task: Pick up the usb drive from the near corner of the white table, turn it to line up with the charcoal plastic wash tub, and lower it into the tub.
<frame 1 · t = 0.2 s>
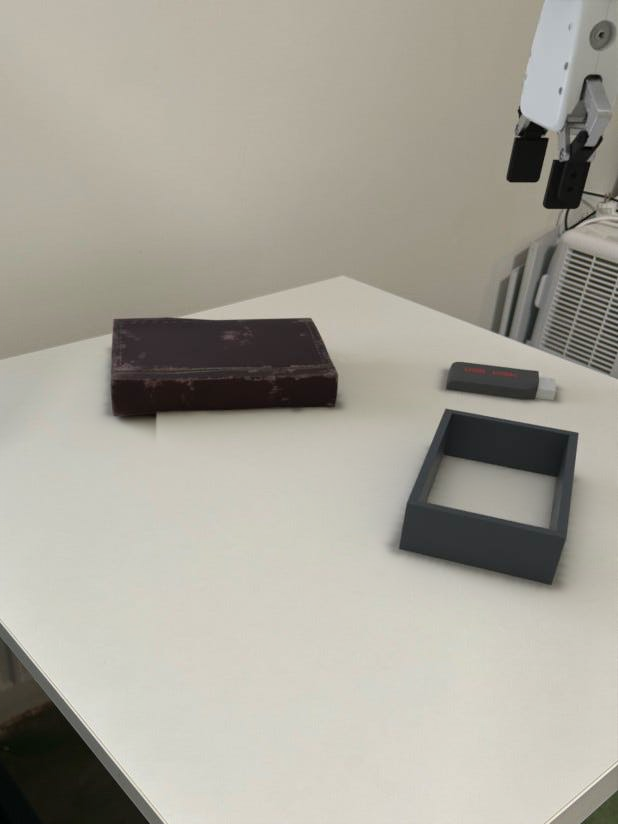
hand: (540, 194, 78), 24 cm above the table, tool pointing down, fingers open, 9 cm apart
diary: (218, 383, 100), on the table
usb drive: (497, 394, 98), on the table
tub: (485, 516, 77), on the table
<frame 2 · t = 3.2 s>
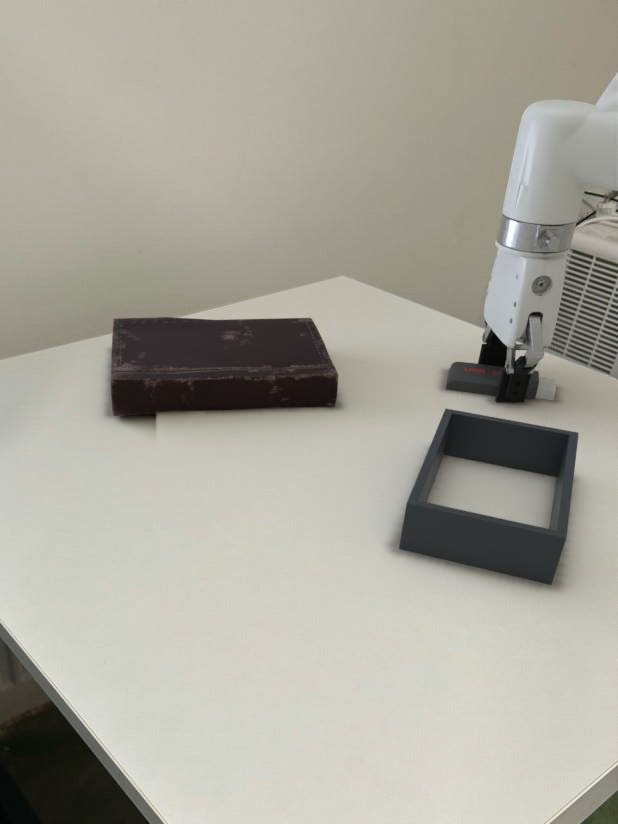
hand: (499, 387, 97), 1 cm above the table, tool pointing down, fingers closed on usb drive, 6 cm apart
usb drive: (497, 394, 98), on the table, touching gripper
everything else where it was.
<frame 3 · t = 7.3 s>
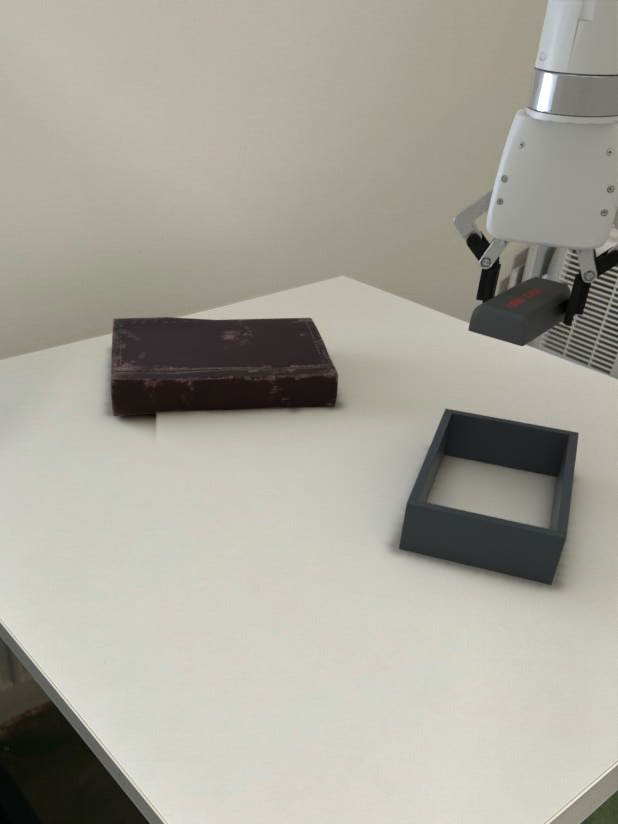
hand: (526, 313, 76), 16 cm above the table, tool pointing down, fingers closed on usb drive, 6 cm apart
usb drive: (524, 322, 76), point 15 cm above the table, touching gripper
everything else where it was.
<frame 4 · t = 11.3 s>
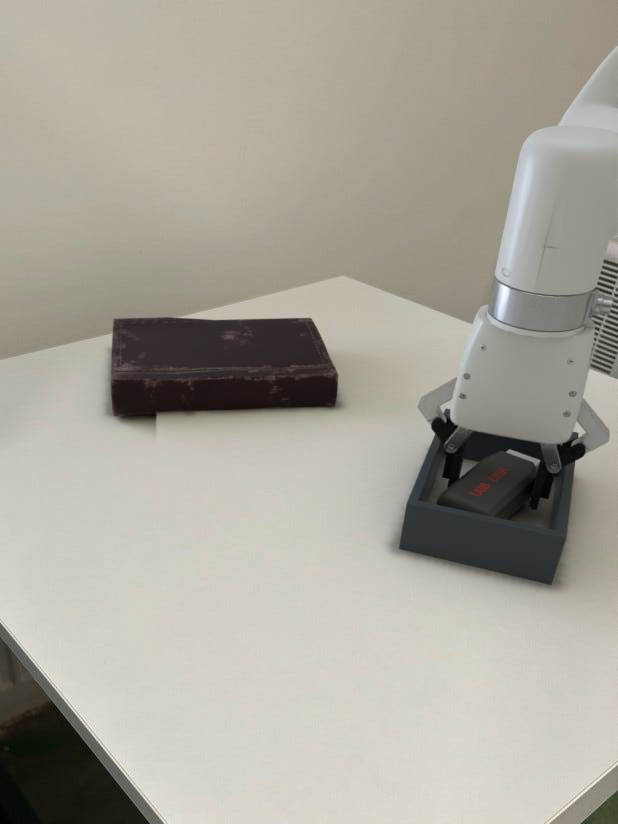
hand: (493, 492, 75), 3 cm above the table, tool pointing down, fingers closed on usb drive, 6 cm apart
usb drive: (490, 500, 76), point 2 cm above the table, touching gripper
everything else where it was.
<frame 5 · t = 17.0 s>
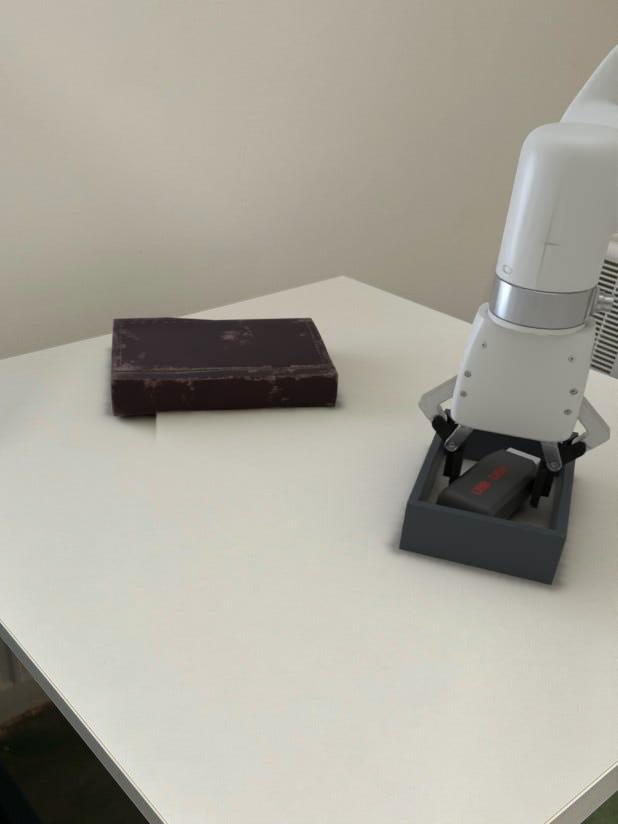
hand: (493, 490, 75), 3 cm above the table, tool pointing down, fingers closed on usb drive, 6 cm apart
usb drive: (491, 498, 76), point 2 cm above the table, touching gripper
everything else where it was.
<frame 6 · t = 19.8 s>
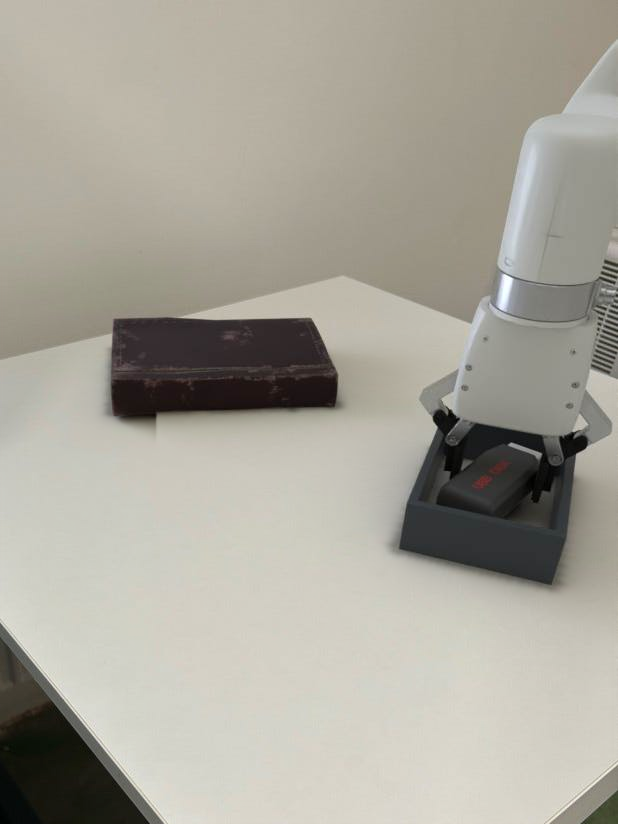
hand: (494, 485, 75), 3 cm above the table, tool pointing down, fingers closed on usb drive, 6 cm apart
usb drive: (492, 493, 75), point 3 cm above the table, touching gripper
everything else where it was.
when the fingers open (4 cm above the table, at t = 22.3 s): usb drive drops 3 cm, resting on tub.
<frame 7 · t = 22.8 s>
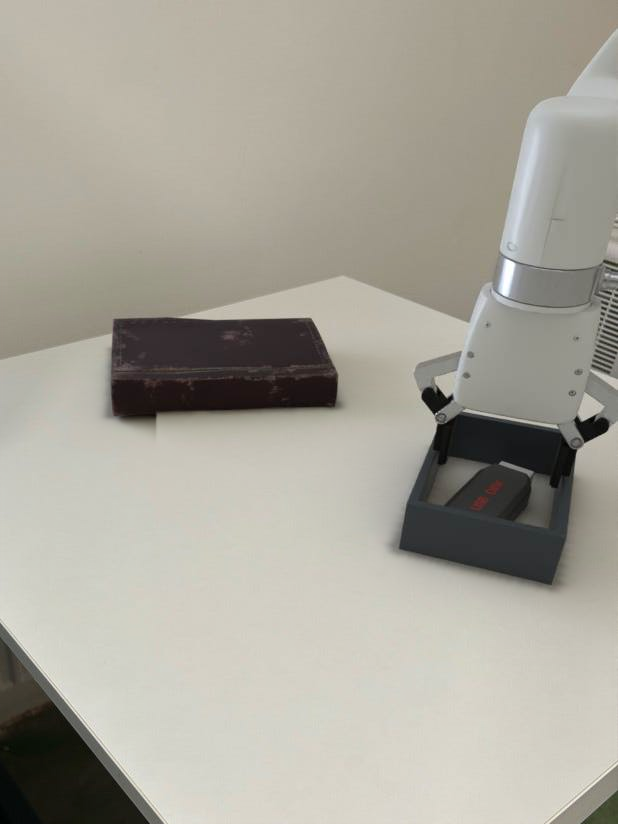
hand: (497, 468, 74), 5 cm above the table, tool pointing down, fingers open, 9 cm apart
usb drive: (487, 513, 77), resting on tub
everything else where it was.
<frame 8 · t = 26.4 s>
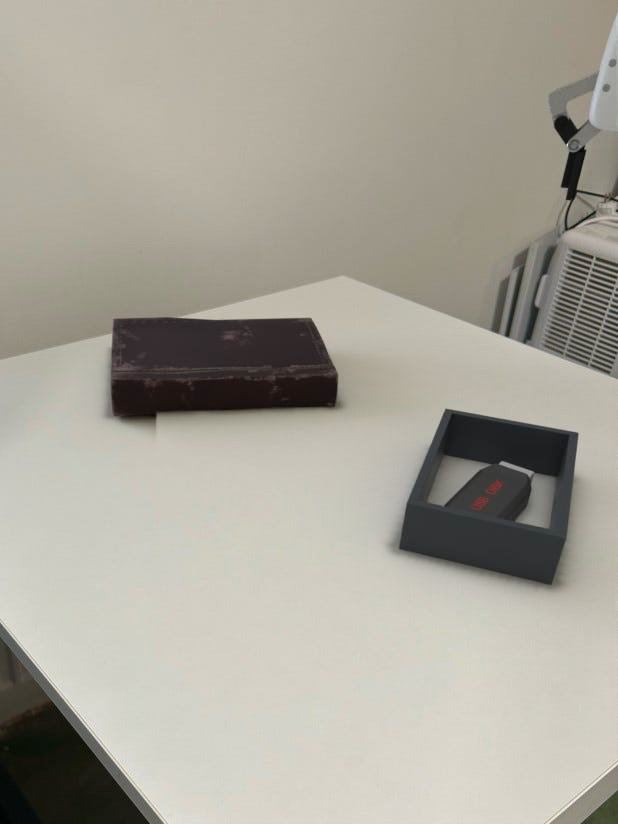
nothing on the table moved.
at the end: usb drive inside the target area in the tub (0.1 cm from its centre), point 0.4 cm above the tub's base; the gripper is holding nothing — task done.
